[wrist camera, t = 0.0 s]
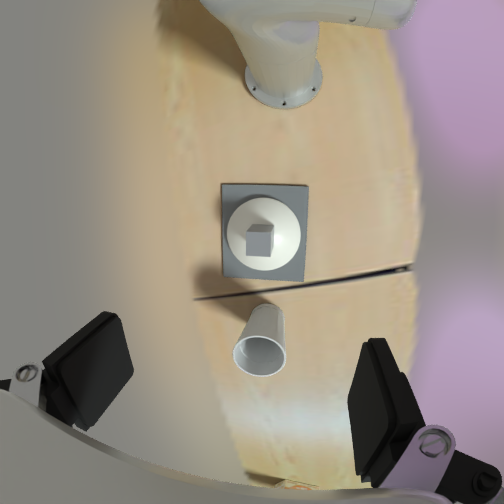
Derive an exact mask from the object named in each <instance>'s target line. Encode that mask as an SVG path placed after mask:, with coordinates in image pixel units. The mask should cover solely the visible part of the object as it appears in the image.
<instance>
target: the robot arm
mask: <svg viewBox="0 0 504 504" xmlns="http://www.w3.org/2000/svg"><path fill="white" fill-rule="evenodd" d="M199 1H200V2H201V4H202V5H203V6H204V7H205V8H206V9H207V10H208V11H209V12H210V13H211V14H212V15H213V16H214V17H215V18H216V19H218V20H219V21H220V22H221V23H223V24H224V25H225V26H226V27H227V28H228V29H229V31H230V32H231V34H232V35H233V37H234V39H235V41H236V43H237V45H238V47H239V49H240V51H241V53H242V55H243V57H244V59H245V61H246V63H247V66H246V68H245V81H246V84H247V87H248V89H249V91H250V92H251V93H252V95H253V96H254V97H255V98H256V99H257V100H258V101H260V102H261V103H263V104H265V105H267V106H270V107H273V108H277V109H292V108H296V107H300V106H302V105H304V104H306V103H308V102H309V101H311V100H312V99H313V98H314V97H315V96H316V95H317V93H318V91H319V89H320V87H321V84H322V70H321V66H320V64H319V62H318V60H317V59H316V54H317V47H318V40H319V32H320V28H319V22H331V23H340V24H348V25H355V26H363V27H369V28H376V29H384V30H393V29H398V28H401V27H403V26H404V25H406V24H407V23H408V21H410V19H411V17H412V16H413V13H414V10H415V7H416V4H417V0H199ZM253 89H256V90H255V91H253ZM312 89H314V90H315V91H312ZM283 103H285V104H286V105H285V106H283V105H282V104H283ZM42 362H43V365H44V367H45V369H44V370H42V368H41V366H40V365H38V364H37V363H34V362H29V363H24V364H22V365H20V366H19V367H18V368H16V370H15V371H14V373H13V376H12V379H7V380H0V504H504V488H503V487H502V486H501V484H502V476H501V474H500V472H499V470H498V469H497V468H495V467H494V466H492V465H490V464H487V463H485V462H482V461H480V460H477V459H475V458H473V457H471V456H468V455H465V454H464V453H462V452H459V451H457V450H455V446H456V442H455V438H454V436H453V434H452V433H451V432H450V431H449V430H448V429H447V428H445V427H443V426H439V425H428V426H426V425H425V422H424V419H423V417H422V414H421V411H420V409H419V406H418V404H417V401H416V399H415V396H414V394H413V391H412V389H411V386H410V384H409V382H408V379H407V377H406V375H405V374H404V373H403V372H400V371H399V368H398V366H397V364H396V361H395V359H394V357H393V355H392V352H391V350H390V348H389V346H388V343H387V341H386V339H385V338H370V339H369V340H368V342H364V343H363V345H362V349H361V353H360V356H359V360H358V364H357V367H356V371H355V374H354V378H353V381H352V385H351V388H350V391H349V394H348V402H347V403H348V410H349V418H350V425H351V433H352V441H353V450H354V460H355V471H356V475H357V476H358V475H361V483H363V482H371V487H373V488H364V489H339V490H296V489H279V488H267V487H257V486H249V485H242V484H234V483H229V482H223V481H218V480H213V479H208V478H203V477H200V476H195V475H191V474H187V473H184V472H180V471H176V470H173V469H169V468H166V467H163V466H160V465H156V464H154V463H151V462H148V461H145V460H142V459H139V458H137V457H134V456H132V455H129V454H127V453H124V452H121V451H119V450H117V449H115V448H112V447H110V446H108V445H106V444H103V443H101V442H99V441H97V440H95V439H93V438H90V437H89V436H87V435H85V434H83V433H81V432H79V431H77V430H75V429H73V427H72V425H73V424H74V423H75V425H76V426H77V427H79V428H80V429H83V430H84V431H87V430H88V429H89V428H90V427H91V426H94V425H95V423H96V422H97V421H98V419H99V418H100V417H101V415H102V414H103V413H104V412H105V410H106V409H107V408H108V406H109V405H110V404H111V402H112V401H113V400H114V399H115V397H116V396H117V395H118V393H119V392H120V391H121V389H122V388H123V387H124V386H125V384H126V383H127V382H128V380H129V379H130V378H131V377H132V375H133V372H134V369H133V365H132V361H131V358H130V354H129V350H128V347H127V343H126V339H125V335H124V331H123V327H122V323H121V320H120V318H119V317H118V316H117V314H115V313H111V312H106V311H104V312H102V313H100V314H99V315H98V316H97V317H96V318H94V319H93V320H92V321H90V322H89V323H88V324H87V325H85V326H84V327H83V328H81V329H80V330H79V331H78V332H76V333H75V334H74V335H73V336H72V337H70V338H69V339H68V340H67V341H66V342H64V343H63V344H62V345H61V346H59V347H58V348H57V349H56V350H55V351H53V352H52V353H51V354H50V355H49V356H48V357H46V358H45V359H44V360H43V361H42Z"/></svg>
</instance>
